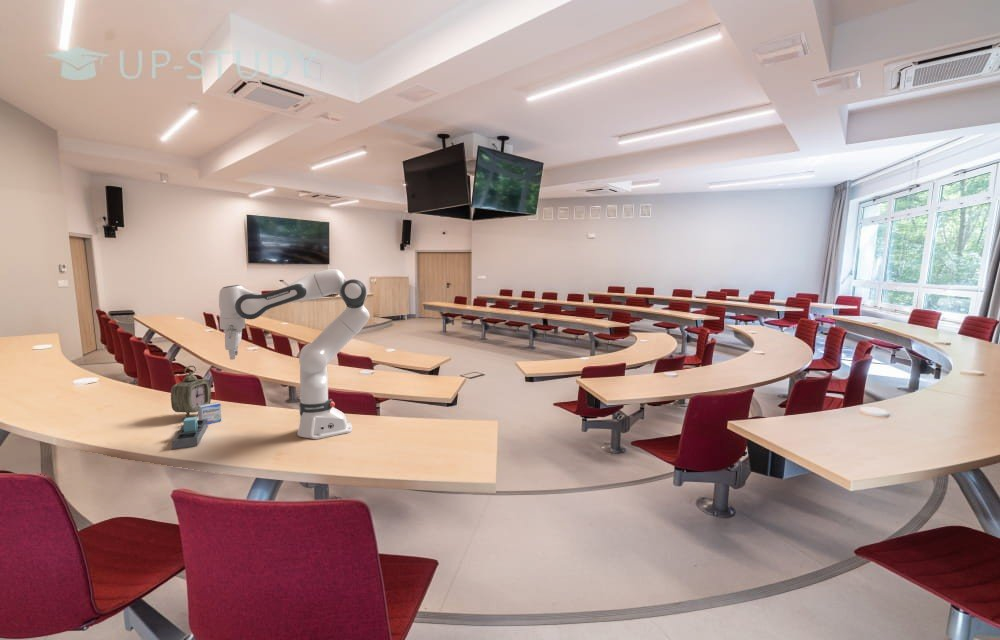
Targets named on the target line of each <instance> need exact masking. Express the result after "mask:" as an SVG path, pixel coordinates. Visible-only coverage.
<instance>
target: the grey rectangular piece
mask: <svg viewBox="0 0 1000 640" xmlns="http://www.w3.org/2000/svg"><path fill="white" fill-rule="evenodd" d="M197 425H198V430H197V431H189V432H184V425H183V424H182V426H181V427H180V428H179V430H178V432H177V433H176V434H175V436H174V437H173V439H172V440H171V450H179V449H180V450H181V449H185V448H187V449H188V448H194V447H198V446H199V444H200V443H201V440H202V438H203V436H204V434H205V433H206V431H207V429H208V427H209V424H208V419H204V420H199V419H197Z"/></svg>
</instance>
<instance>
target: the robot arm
mask: <svg viewBox="0 0 1000 640" xmlns="http://www.w3.org/2000/svg"><path fill="white" fill-rule="evenodd" d="M335 294H336V295H339V296H340V297H341V299H342V301H343V302H344V303H345V305H346V308H345V309H344V311H343V312H342V313H341V314H339V315H338V316H337V317H336V318H335V319H334V320H333V321H332V322H331V323H329V324H328V325H327V326H326V327H325V328H324V329H323V330H322V331H321V333H320V334H319V335H317V336H316V337H315V339H314V340H313V341H312V342H310V343H307V344H305V345H304V346H303V347H302V348H301V350H300V353H299V358H298V359H299V360H298V361H299V362H298V364H299V387H300V391H299V392H300V393H299V394H300V397H299V398H300V401H299V404H298V405H299V406H298V407H299V408H298V409H299V410H298V411H299V418H300V419H299V425H298V430H297V433H296V434H297V436H298V437H301V438H304V439H305V438H306V439H312V440H319V439H324V438H328V437H334V436H338V435H343V434H348V433H351V432H352V430H353V425H352V423H351V422H349V421H348V420H347V417H346V415H345V414H344V413H345V412H342V411H340V410H339V409H337V408H336V407H335V405H336V404H335V402H334V401H333V399H332V398H329V383H328V382H329V379H328V364H329V363H331V361H332V360H333V359H334V358H335V357H336V356H337V355H338V354H339V353H340V351H342V349H343V348H344V347H345V346H346V345H347V344H348V343H349V342H350V341H351V340H352V339H354V337H356V336H357V334H359V332H360V331H361V330H362V329H363V328H364V327H365V326H366V325H367V323H368V321H369V320H370V318H371V315H370V312H369V310H368V309H367V308H366V306H365V304H364V303H365V301H366V300H367V297H368V290H367V287H366V286H365V284H364V283H363V282H362V281H361V280H358V279H355V278H354V279H348V280H347V279H346V277H345V275H344V273H343V272H342V271H341V270H339V269H337V268H332V269H331V268H330V269H325V270H320V271H316V272H313V273H310V274H307V275H304V276H303V277H301V278H299V279H297V280H295V281H294V282H292V283H290V284H289V285H286V286H285V287H282V288H279V289H276V290H273V291H269V292H266V293H265V292H264V293H259V292H255V291H252V290H249V289H247V288H245V287H244V286H243V285H240V284H236V285H235V284H234V285H227V286H226V285H225V286H223V287H222V288H221V289H220V290H219V295H218V307H219V313H220V314H219V329H220V330H223V333H224V348H225V350H226V351H228V355H229V360H235V359H236V356H238V355H239V345H240V344H241V342H242V337H243V336H242V334H243V329H246V320H254V319H257V318H259V317H261V316H263V315H265V314H267V312H269V310H271V309H274V308H276V307H279V306H282V305H285V304H288V303H294V302H302V301H303V302H304V301H305V302H306V301H312V300H317V299H321V298H324V297H327V296H331V295H335Z"/></svg>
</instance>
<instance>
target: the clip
mask: <svg viewBox="0 0 1000 640" xmlns="http://www.w3.org/2000/svg"><path fill="white" fill-rule="evenodd" d="M197 420H198V416H193V417H190V418H188V417H185V418H184V420H183V423H182V426H183V425H184V432H189V431H197V430H198V425H197Z"/></svg>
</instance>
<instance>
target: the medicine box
mask: <svg viewBox="0 0 1000 640" xmlns="http://www.w3.org/2000/svg"><path fill="white" fill-rule="evenodd" d="M204 419H208V425H212V424H216V423H220V422H222V405H221V403H220V402H219V401H218V402H210V404H205V405H200V406H198V412H197V420H204Z"/></svg>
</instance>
